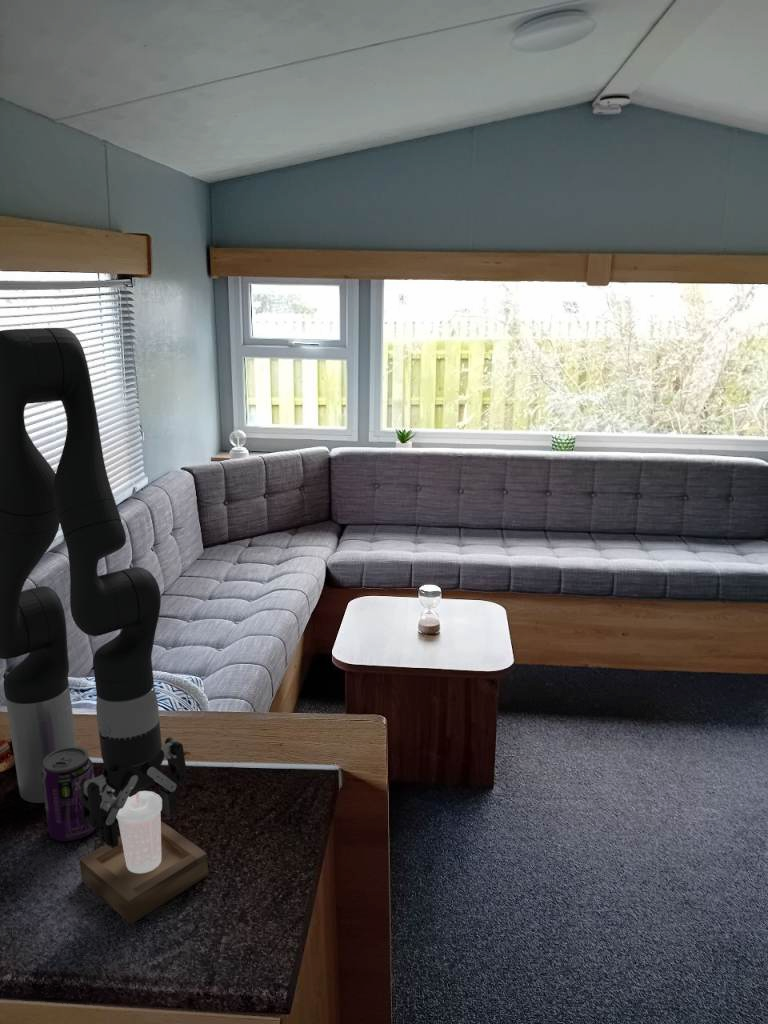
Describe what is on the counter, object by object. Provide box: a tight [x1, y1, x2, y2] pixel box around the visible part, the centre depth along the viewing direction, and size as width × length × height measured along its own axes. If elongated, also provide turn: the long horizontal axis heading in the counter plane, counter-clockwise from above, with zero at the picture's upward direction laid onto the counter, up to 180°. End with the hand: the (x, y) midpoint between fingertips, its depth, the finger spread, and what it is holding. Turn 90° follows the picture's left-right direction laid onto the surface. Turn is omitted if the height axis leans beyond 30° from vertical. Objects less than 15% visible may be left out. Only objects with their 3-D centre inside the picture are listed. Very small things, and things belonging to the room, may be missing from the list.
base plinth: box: [78, 820, 209, 925], centre depth 115 cm, size 12×12×4 cm
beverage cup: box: [115, 790, 162, 873], centre depth 113 cm, size 6×6×14 cm
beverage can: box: [41, 746, 97, 842], centre depth 124 cm, size 7×7×12 cm
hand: (140, 828), depth 113 cm, fingers open, 8 cm apart
